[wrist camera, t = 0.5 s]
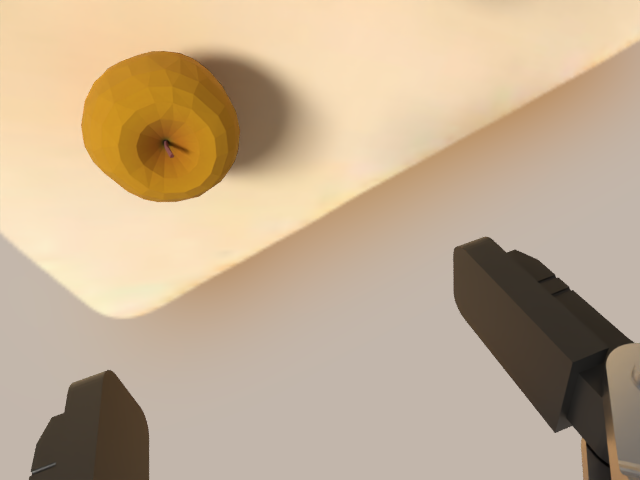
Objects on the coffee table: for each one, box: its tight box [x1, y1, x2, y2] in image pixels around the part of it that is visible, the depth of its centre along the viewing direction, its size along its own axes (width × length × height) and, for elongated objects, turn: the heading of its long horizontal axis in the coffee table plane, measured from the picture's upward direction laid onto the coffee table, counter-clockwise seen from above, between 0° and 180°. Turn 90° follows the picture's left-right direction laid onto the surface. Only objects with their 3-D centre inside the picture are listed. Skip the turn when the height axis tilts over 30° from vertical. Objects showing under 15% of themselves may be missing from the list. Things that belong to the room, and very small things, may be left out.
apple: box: [81, 51, 240, 202], centre depth 27 cm, size 8×8×9 cm
